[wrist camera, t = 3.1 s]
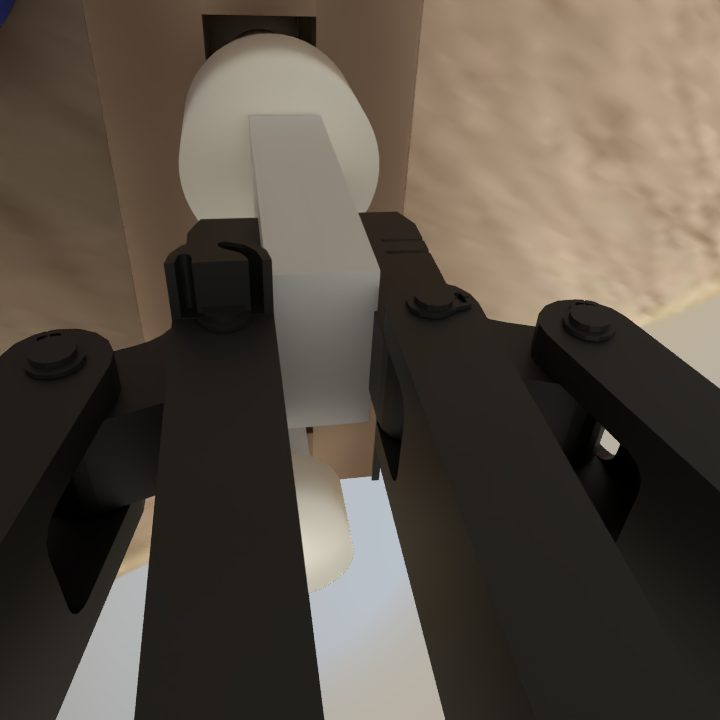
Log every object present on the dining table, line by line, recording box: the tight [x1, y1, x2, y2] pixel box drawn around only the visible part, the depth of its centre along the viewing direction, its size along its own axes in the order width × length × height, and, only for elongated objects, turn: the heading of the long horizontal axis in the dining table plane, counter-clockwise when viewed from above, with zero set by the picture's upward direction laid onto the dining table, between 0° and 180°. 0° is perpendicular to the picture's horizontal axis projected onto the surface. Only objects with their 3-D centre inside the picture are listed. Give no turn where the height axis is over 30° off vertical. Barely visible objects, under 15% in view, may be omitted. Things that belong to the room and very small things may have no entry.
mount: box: [82, 0, 424, 479], centre depth 27 cm, size 10×24×6 cm, turn 177°
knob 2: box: [288, 427, 353, 593], centre depth 26 cm, size 4×4×9 cm
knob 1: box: [179, 29, 379, 221], centre depth 18 cm, size 4×4×9 cm
